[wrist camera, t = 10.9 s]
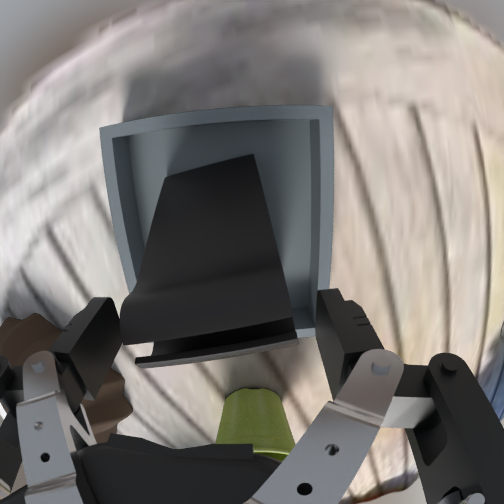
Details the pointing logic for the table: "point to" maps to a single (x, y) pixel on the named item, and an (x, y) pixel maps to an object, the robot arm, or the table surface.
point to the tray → (224, 148)
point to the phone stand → (209, 271)
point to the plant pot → (256, 423)
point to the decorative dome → (41, 339)
